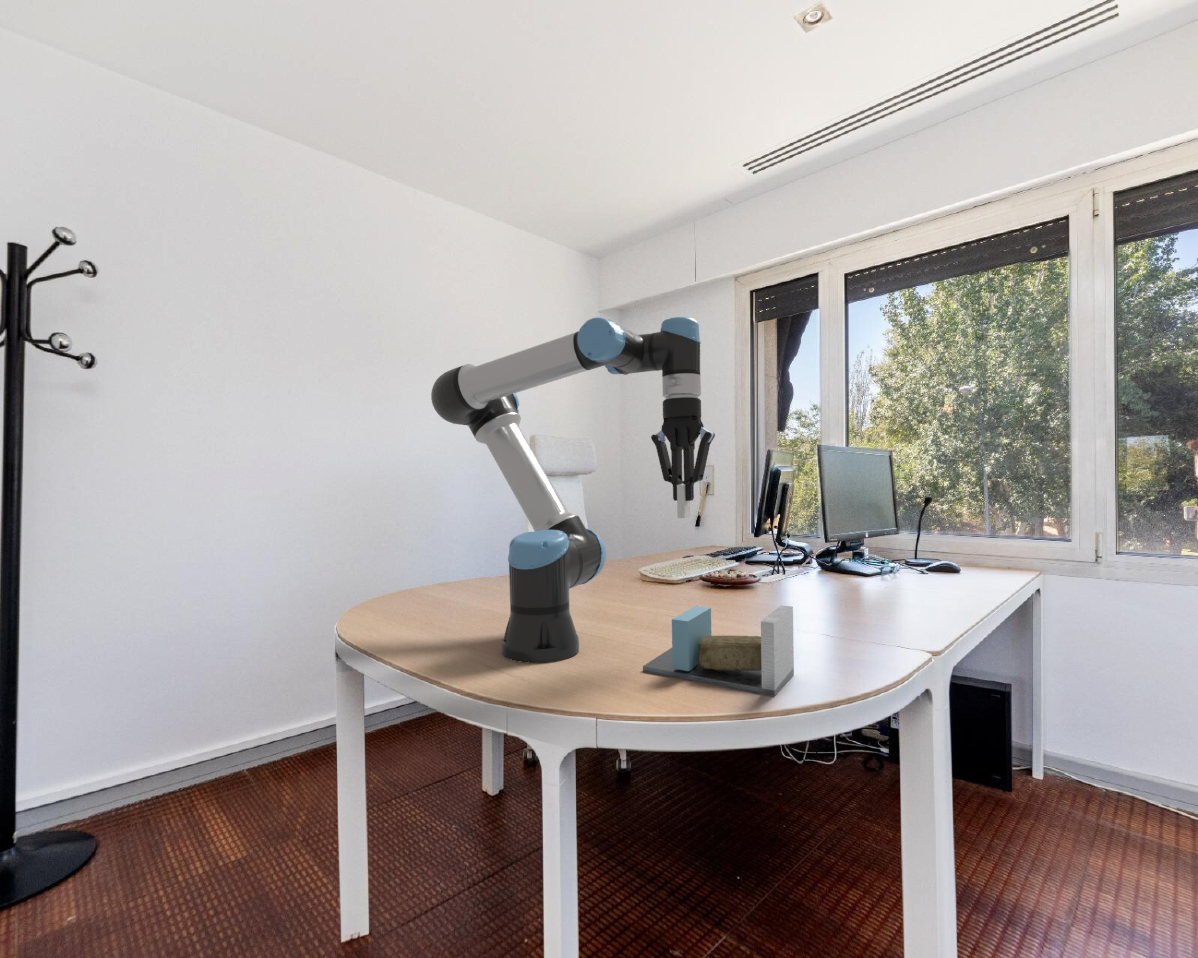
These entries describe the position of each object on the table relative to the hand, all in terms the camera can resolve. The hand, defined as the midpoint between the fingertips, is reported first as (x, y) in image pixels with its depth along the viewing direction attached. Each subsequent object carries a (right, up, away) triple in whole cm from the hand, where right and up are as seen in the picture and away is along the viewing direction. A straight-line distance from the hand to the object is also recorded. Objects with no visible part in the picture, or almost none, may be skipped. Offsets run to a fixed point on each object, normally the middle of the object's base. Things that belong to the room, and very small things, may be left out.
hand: (683, 517), depth 115 cm
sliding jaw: (0, -25, -12) cm, 27 cm away
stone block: (+9, -26, -17) cm, 32 cm away
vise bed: (+4, -27, -14) cm, 30 cm away
